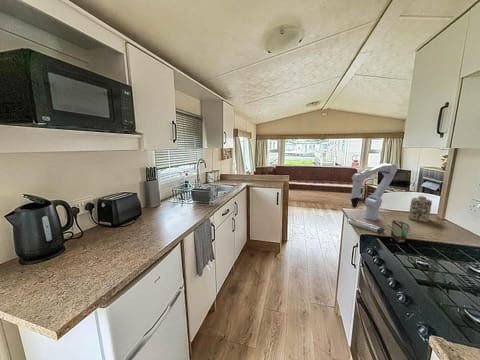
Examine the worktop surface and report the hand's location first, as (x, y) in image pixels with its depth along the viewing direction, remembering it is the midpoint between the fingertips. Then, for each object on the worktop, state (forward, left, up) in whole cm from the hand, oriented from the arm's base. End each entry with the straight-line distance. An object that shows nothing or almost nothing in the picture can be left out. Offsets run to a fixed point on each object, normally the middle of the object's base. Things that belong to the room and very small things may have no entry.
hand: (354, 207), depth 154 cm
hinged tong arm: (+8, +13, -9) cm, 18 cm away
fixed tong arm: (+10, +13, -9) cm, 19 cm away
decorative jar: (-48, +25, -10) cm, 55 cm away
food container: (+9, +34, -10) cm, 36 cm away
